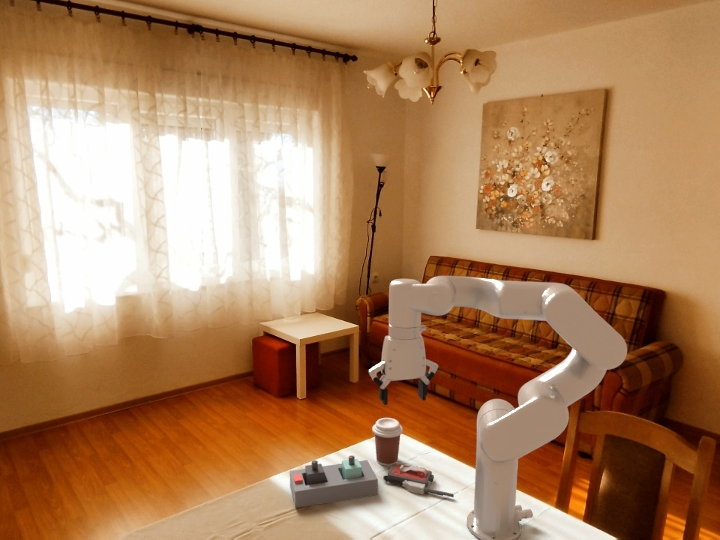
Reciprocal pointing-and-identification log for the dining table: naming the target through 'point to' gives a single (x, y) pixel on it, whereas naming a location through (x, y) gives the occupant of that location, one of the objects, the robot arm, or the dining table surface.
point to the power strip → (330, 484)
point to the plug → (351, 468)
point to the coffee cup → (387, 440)
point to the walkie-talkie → (413, 479)
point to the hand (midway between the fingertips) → (403, 400)
